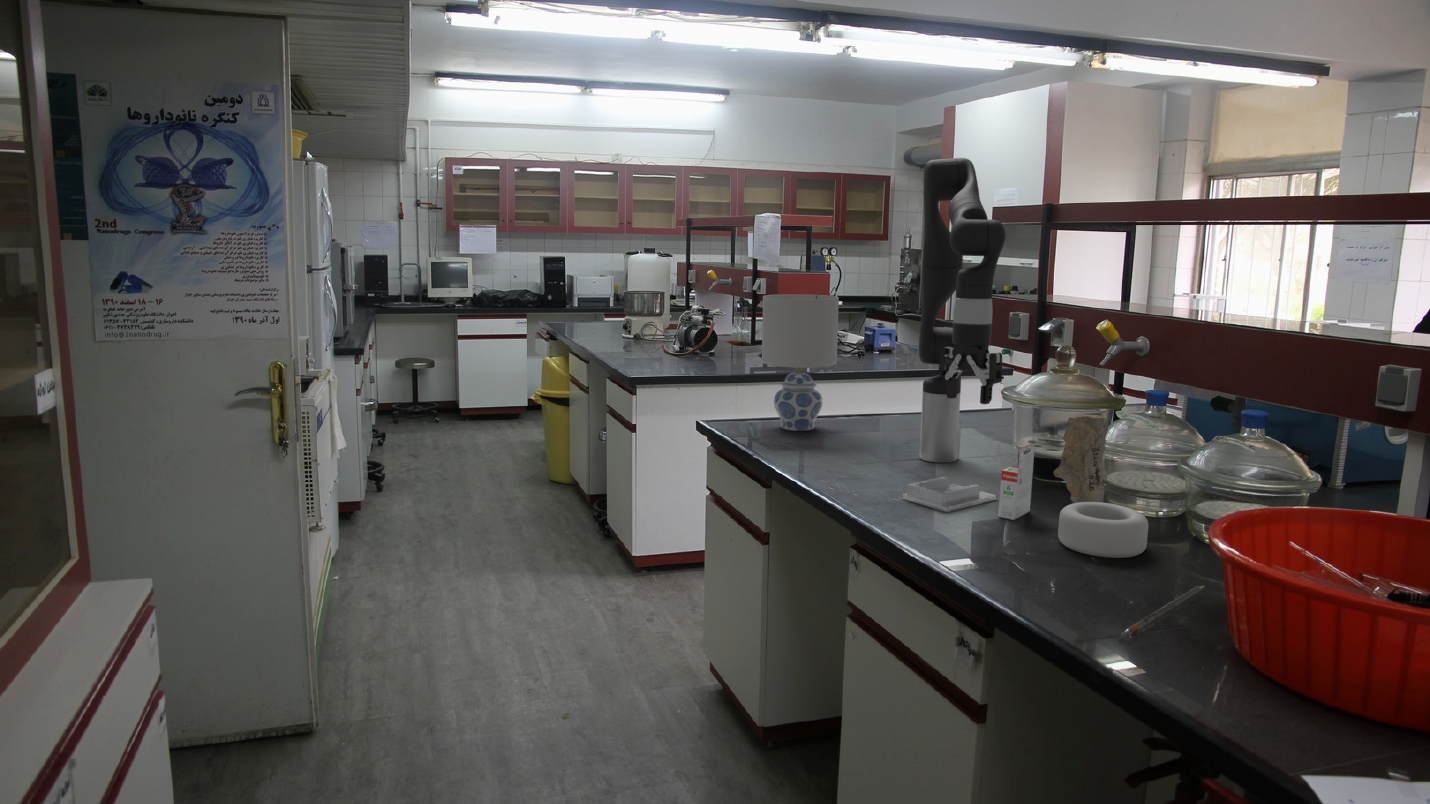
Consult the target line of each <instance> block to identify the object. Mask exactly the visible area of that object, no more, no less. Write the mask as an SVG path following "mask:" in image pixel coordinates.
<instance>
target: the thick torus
mask: <svg viewBox="0 0 1430 804" xmlns="http://www.w3.org/2000/svg"><path fill="white" fill-rule="evenodd" d="M1058 519H1059V520H1058V532H1057V537H1058V539H1059V542H1060V544H1062V545H1063V546H1064V547H1066V548H1068V549H1070V550H1072V551H1074V552H1078V553H1080V554H1085V555H1088V556H1093V557H1099V558H1110V559H1125V558H1132V557H1136V556H1139V555H1141V554H1142V553H1143V552H1145V550H1146V549H1147V547H1148V546H1147V545H1148V533H1149V521H1148V519H1147V518H1146V516H1145V515H1143V514H1142V513H1141V512H1139V511H1137V510H1136V509H1134V508H1130V507H1127V506H1123V505H1119V504H1115V503H1108V502H1097V501H1095V502H1080V503H1070V504H1068V505H1066V506H1064V507H1063V508H1062V509H1061V510H1060V513H1059V517H1058Z"/></svg>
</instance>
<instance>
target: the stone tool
mask: <svg viewBox="0 0 1430 804" xmlns="http://www.w3.org/2000/svg"><path fill="white" fill-rule="evenodd" d="M1108 431H1109V426H1108V417H1104V416H1103V415H1100V414H1080V415H1076V416H1072V417H1071V416H1070V417H1069V418H1068V419H1067V426H1066V430H1065V432H1064V434H1063V436H1062V439H1063V442H1064V448H1063V451H1062V453H1061V457H1060V464H1059V466H1058V467H1057V468H1055V470H1054V471H1053V476H1054V477H1055V478H1060V479H1062V480H1064V483H1065V486H1066V489H1067V490H1068V492H1069V493H1070V501H1071V502H1072V504H1074V503H1080V502H1096V496H1097V493H1098V490H1099V488H1100V487H1101V485H1102V482H1103V481H1104V478H1105V477H1106V476H1108V475H1109V471H1108V470H1107V469H1106V468H1105V467H1104V466H1103V463H1102V462H1103V461H1102V460H1103V456H1104V452H1105V450H1106V449H1105V448H1106V447H1105V446H1106V442H1107V439H1106V436H1107V435H1108Z"/></svg>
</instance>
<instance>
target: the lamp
mask: <svg viewBox="0 0 1430 804" xmlns="http://www.w3.org/2000/svg"><path fill="white" fill-rule="evenodd" d="M839 298H840V297H839V296H835V295H834V296H832V295H823V294H821V295H820V294H797V293H796V294H794V293H793V294H768V295H763V296H762V326H761V327H762V328H761V329H762V331H761V332H762V333H761V335H762V337H761V340H762V341H761V363H762V364H764V365H769V366H771V367H772V366H774V367H780V368H781V367H782V368H795V369H794V372H791V373H789V374H787V375H786V376H785V378H784V380H783V382H781V383H780V386H781V387H782V389H779V390H778V391H777V392H776V393H775V395H774V398H773V407H774V409H775V411H776V413H777V415H778V417H779V419H780V422H781V424H780V428H781V429H783V430H786V431H790V432H791V431H792V432H793V431H794V432H807V431H812V430H813V429H815V425H814V424H815V421H816V419H817V417H818V416H819V414H820V412H821V410H822V408H823V397H822V395H821V394H822V393H820V392H819V391H818V390H816V389H815V388H816V387H817V383H815V382H814V380H813V377H812V376H811V375H810V374H807V373H805V372H804V371H803V370H804V369H809V368H816V369H817V368H826V367H831V366H835V365H837V361H838V332H839V330H838V329H839V302H840V301H839V300H840V299H839Z"/></svg>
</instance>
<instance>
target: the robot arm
mask: <svg viewBox="0 0 1430 804" xmlns="http://www.w3.org/2000/svg"><path fill="white" fill-rule="evenodd" d="M923 169H924V170H923V179H922V180H923V184H922V185H923V211H924V213H923V216H924V217H923V219H924V223H923V224H924V233H923V248H922V249H923V251H922V270H921V273H922V274H921V276H922V278H921V280H922V282H921V283H922V284H921V285H922V287H921V288H922V290H921V291H922V294H921V295H922V297H921V299H922V300H921V301H922V303H921V313H920V314H921V316H920V327H919V335H918V337H919V338H918V357H919V360H920V361H921V363H923V364H927V365H938V375H934V376H930V377H928V378H925V379H924V380H923V382H922V397H921V399H922V401H921V415H920V416H921V419H920V439H919V459H920V460H923V461H927V462H933V463H952V462H953V463H954V462H956V461H957V459H958V460H959V459H960V448H961V433H962V422H961V420H960V411H961V409H960V407H961V391H962V389H961V387H962V386H961V385H962V372H969V373H974V375H975V377H977V378H978V379H979V381H980V383H981V385H980V393H979V403H980V404H981V405H988V404H990V403H991V401H992V399H993V387H994V385H995V384H999V383H1002V382H1003V353H1002V352H990V351H989V347H990V345H991V343H992V331H993V328H992V326H993V313H994V312H993V310H994V309H993V289H994V278H995V273H996V268H997V265H998V261H999V259H1000V256H1001V253H1002V251H1003V247H1004V244H1005V241H1006V229H1005V226H1004V225H1003V223H1002V222H1001V221H999V220H996V219H988V216H987V212H986V210H985V208H984V206H983V204H982V202H981V198H980V191H979V189H980V188H979V185H978V183H979V182H978V179H977V173H976V172H977V171H976V169H975V166H974V164H973V162H972V160H970V159H969V158H966V157H953V158H939V159H931V160H929V161H927V162H926V164H925V166H924V168H923ZM945 201H946V202H947V201H950V202H949V205H948V209H947V210H948V218H949V221H950V223H951V230H949V228H948V227H947V225H946V222H945V221H944V219H943V217H942V215H941V211H940V208H939V203H940V202H945ZM964 256H976V257H977V256H980V257H982V256H983V258H982V260H981V262H980V263H979V264H978V265H975V266H971V267H970V266H969V267H965V268H963V260H964ZM954 293H955V301H954V305H953V306H954V307H953V315H952V317H953V319H952V320H953V321H952V327H940V326H939V327H938V326H937V327H936V326H934V324H935V322H936V319H937V317H938V315H939V313H940V312H941V310H942V308H943V307H944V306H945V304H947V302H948V301H949V299H950V298H952V296H953V295H954Z"/></svg>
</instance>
